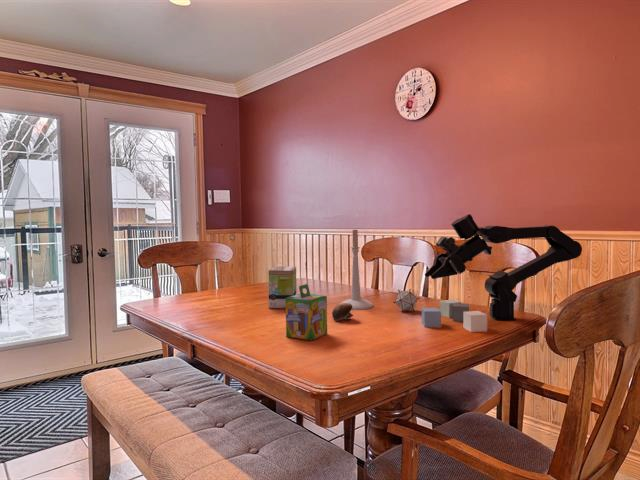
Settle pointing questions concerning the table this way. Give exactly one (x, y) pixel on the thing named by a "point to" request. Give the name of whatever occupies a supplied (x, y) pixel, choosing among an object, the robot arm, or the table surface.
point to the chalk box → (306, 315)
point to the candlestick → (356, 280)
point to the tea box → (281, 285)
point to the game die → (406, 300)
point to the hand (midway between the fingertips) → (428, 276)
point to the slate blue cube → (431, 317)
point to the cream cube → (475, 321)
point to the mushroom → (342, 311)
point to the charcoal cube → (459, 311)
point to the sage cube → (447, 308)
